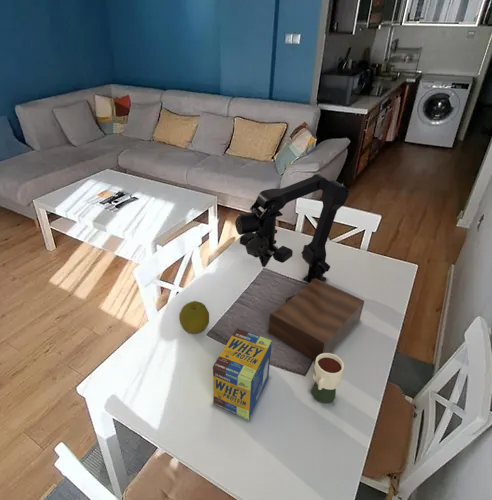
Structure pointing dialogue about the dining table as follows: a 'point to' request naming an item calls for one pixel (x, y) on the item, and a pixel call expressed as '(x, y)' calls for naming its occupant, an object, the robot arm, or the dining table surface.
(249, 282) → the dining table surface
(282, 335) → the walnut wood chunk
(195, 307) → the apple
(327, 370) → the character mug
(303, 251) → the robot arm
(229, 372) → the protein box
